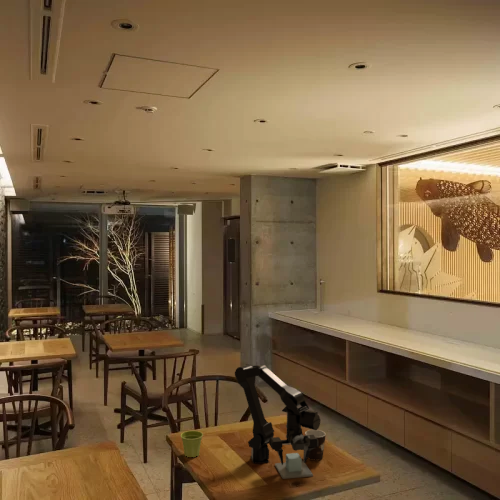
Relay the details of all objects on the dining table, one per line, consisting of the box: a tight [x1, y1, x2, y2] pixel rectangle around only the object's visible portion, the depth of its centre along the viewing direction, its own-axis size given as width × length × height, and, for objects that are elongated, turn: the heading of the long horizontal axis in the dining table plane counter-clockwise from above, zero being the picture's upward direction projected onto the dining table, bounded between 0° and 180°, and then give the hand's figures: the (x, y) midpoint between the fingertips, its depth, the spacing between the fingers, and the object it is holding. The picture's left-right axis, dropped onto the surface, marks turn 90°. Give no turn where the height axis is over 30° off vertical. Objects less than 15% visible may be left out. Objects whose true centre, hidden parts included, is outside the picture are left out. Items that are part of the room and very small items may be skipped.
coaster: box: [274, 460, 314, 480], centre depth 203 cm, size 12×12×1 cm
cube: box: [285, 452, 303, 472], centre depth 203 cm, size 5×5×5 cm
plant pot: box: [180, 430, 204, 458], centre depth 217 cm, size 9×9×9 cm
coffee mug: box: [304, 429, 327, 461], centre depth 217 cm, size 12×9×10 cm
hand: (293, 463), depth 203 cm, fingers open, 9 cm apart
